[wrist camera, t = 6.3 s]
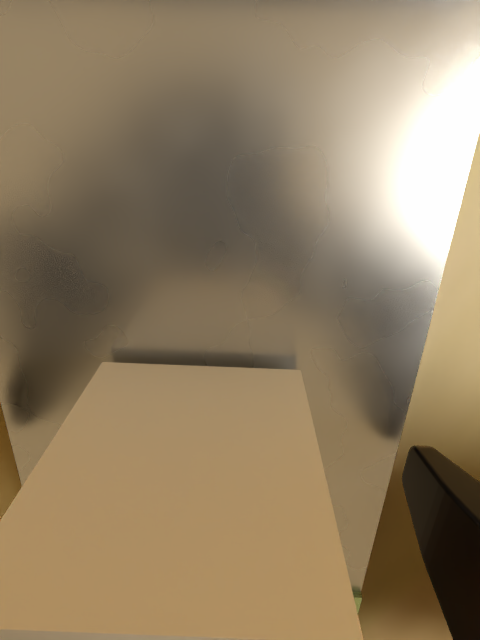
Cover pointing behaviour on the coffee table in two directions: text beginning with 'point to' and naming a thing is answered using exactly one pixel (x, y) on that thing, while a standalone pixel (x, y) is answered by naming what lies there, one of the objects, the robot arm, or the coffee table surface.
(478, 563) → the robot arm
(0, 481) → the coffee table surface
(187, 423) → the cream rectangular block
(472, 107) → the gray display stand
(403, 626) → the coffee table surface
